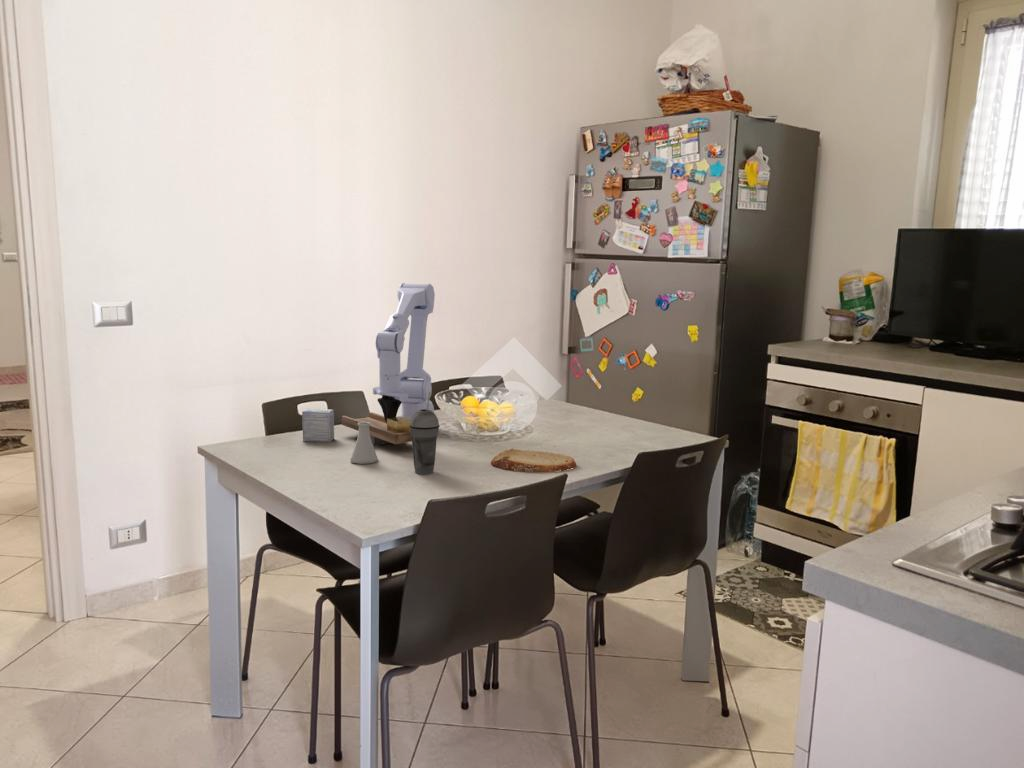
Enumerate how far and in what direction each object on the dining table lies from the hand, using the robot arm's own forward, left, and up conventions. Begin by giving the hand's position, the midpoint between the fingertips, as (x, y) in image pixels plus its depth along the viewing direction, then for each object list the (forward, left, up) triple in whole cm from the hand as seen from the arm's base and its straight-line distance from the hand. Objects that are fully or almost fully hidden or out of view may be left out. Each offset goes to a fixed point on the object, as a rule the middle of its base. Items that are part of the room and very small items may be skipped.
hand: (390, 423), depth 223 cm
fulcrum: (0, -3, -6) cm, 7 cm away
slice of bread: (-17, +40, -7) cm, 44 cm away
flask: (+15, +11, -6) cm, 20 cm away
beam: (0, -3, -3) cm, 4 cm away
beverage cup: (+9, +29, -6) cm, 31 cm away
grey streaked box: (+13, -17, -6) cm, 22 cm away
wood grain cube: (0, +5, -2) cm, 5 cm away
